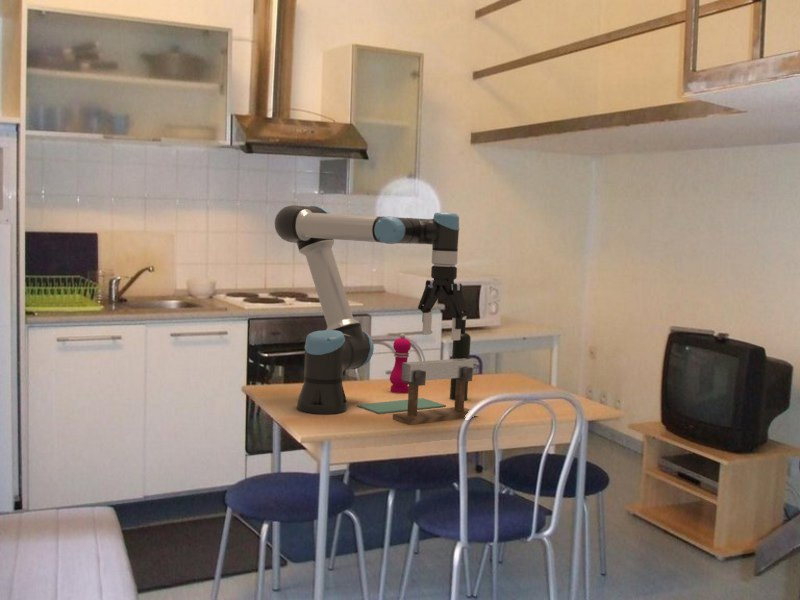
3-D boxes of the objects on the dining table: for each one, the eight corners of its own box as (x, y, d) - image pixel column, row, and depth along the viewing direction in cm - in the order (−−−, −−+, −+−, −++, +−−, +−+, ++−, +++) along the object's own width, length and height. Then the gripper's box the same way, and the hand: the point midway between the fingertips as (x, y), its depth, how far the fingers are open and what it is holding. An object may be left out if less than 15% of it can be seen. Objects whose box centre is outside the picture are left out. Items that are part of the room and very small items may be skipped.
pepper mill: (401, 394, 295) (404, 335, 293) (384, 391, 299) (387, 332, 297) (414, 391, 301) (417, 333, 299) (397, 388, 305) (400, 331, 303)
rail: (409, 381, 252) (410, 364, 252) (401, 379, 255) (402, 362, 255) (472, 376, 266) (473, 360, 266) (464, 374, 270) (465, 358, 269)
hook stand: (409, 424, 251) (411, 373, 250) (392, 419, 257) (395, 368, 256) (477, 416, 267) (480, 367, 265) (460, 411, 273) (462, 363, 272)
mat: (378, 414, 263) (379, 412, 263) (356, 406, 273) (356, 404, 273) (445, 406, 279) (446, 405, 278) (422, 399, 288) (422, 398, 288)
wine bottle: (455, 396, 296) (460, 308, 293) (470, 399, 293) (475, 309, 290) (446, 398, 291) (451, 308, 289) (461, 401, 288) (466, 310, 285)
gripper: (482, 268, 250) (478, 342, 252) (428, 263, 270) (424, 331, 272) (462, 268, 246) (458, 343, 248) (408, 262, 266) (405, 332, 267)
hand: (440, 337), depth 260 cm, fingers open, 13 cm apart
